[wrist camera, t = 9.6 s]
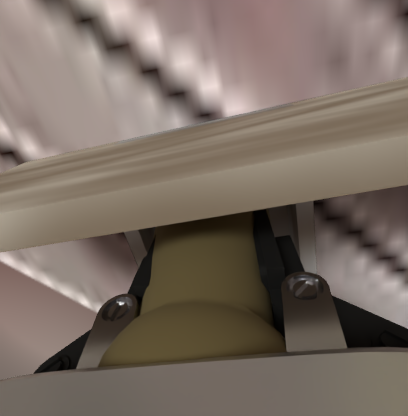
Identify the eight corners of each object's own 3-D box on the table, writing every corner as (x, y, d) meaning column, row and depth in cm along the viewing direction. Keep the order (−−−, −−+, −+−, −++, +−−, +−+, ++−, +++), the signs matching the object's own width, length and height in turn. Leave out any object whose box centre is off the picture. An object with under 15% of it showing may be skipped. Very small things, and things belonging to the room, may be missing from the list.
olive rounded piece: (269, 262, 16) (348, 584, 6) (168, 266, 16) (81, 561, 6) (270, 161, 13) (420, 437, 3) (149, 171, 14) (-51, 424, 4)
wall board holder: (26, 161, 16) (-165, 245, 8) (419, 74, 13) (740, 71, 5) (90, 285, 21) (5, 420, 12) (400, 243, 17) (556, 390, 9)
